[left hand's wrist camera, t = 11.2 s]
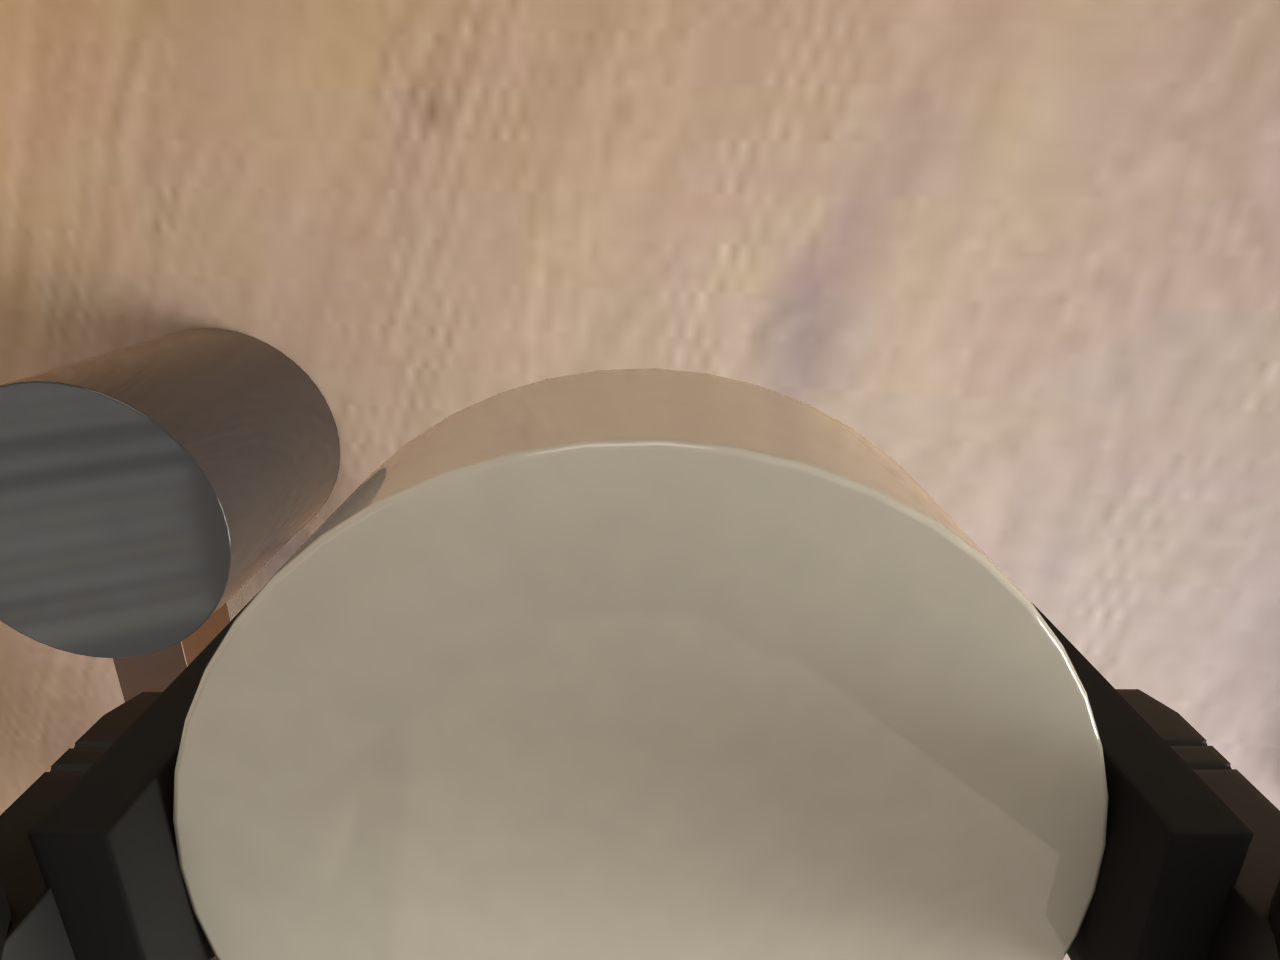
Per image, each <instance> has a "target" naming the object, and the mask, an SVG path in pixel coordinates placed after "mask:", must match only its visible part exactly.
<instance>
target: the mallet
mask: <svg viewBox="0 0 1280 960" xmlns="http://www.w3.org/2000/svg"><path fill="white" fill-rule="evenodd" d="M339 460H340V448H339V438H338V433H337V428H336V424H335V421H334V419H333V416H332V413H331V411H330V409H329V407H328V405H327V402H326V400H325V398H324V397H323V395H322V394H321V392H320V391H319V389H318V388H317V386H316V385H315V384H314V382H313V381H312V380H311V379H310V378H309V376H308V375H307V374H306V373H305V372H304V371H303V370H302V369H301V368H300V367H299V366H298V365H297V364H296V363H295V362H293V361H292V360H291V359H290V358H288V357H287V356H286V355H284V354H283V353H282V352H280V351H278V350H277V349H275V348H273V347H272V346H270V345H268V344H266V343H264V342H262V341H260V340H258V339H255V338H253V337H250V336H247V335H244V334H241V333H238V332H233V331H228V330H223V329H208V328H205V329H191V330H186V331H182V332H177V333H174V334H170V335H167V336H164V337H160V338H157V339H154V340H150V341H147V342H144V343H140V344H137V345H134V346H130V347H127V348H124V349H120V350H117V351H113V352H110V353H107V354H103V355H100V356H97V357H93V358H90V359H87V360H83V361H80V362H77V363H73V364H70V365H67V366H63V367H60V368H57V369H53V370H50V371H47V372H43V373H40V374H37V375H33V376H30V377H26V378H23V379H20V380H16V381H13V382H10V383H6V384H3V385H0V621H2V622H3V623H5V624H6V625H8V626H10V627H11V628H13V629H15V630H16V631H18V632H20V633H21V634H23V635H26V636H28V637H30V638H32V639H34V640H36V641H38V642H40V643H43V644H46V645H48V646H51V647H54V648H56V649H60V650H63V651H67V652H71V653H74V654H79V655H85V656H92V657H103V658H113V660H114V664H115V667H116V671H117V675H118V678H119V682H120V685H121V689H122V693H123V696H124V700H125V702H127V701H128V700H130V699H132V698H133V697H135V696H137V695H138V694H140V693H142V692H163V691H164V690H165V689H166V688H167V687H168V686H169V685H170V684H171V683H172V682H173V681H174V680H175V679H176V678H177V677H178V676H179V675H180V674H181V673H182V672H183V670H184V669H185V668H186V667H187V666H188V665H189V664H190V663H191V662H192V661H193V660H194V659H195V658H196V657H197V656H198V655H199V654H200V653H201V652H202V651H203V650H204V649H205V648H206V647H207V645H208V644H209V643H210V642H211V641H212V640H213V639H214V638H215V637H216V636H217V635H218V634H219V633H220V632H221V631H222V630H223V629H224V628H225V627H226V626H227V625H228V624H229V623H230V619H229V614H228V609H227V605H226V602H227V601H228V600H229V599H230V598H231V597H232V596H233V595H234V594H235V593H236V592H237V591H238V590H239V589H240V588H241V587H242V586H243V585H244V584H245V583H246V582H247V581H248V580H249V579H250V578H251V577H252V576H253V575H254V574H255V573H256V572H257V571H258V570H259V569H260V568H261V567H262V566H263V565H264V564H265V563H266V562H268V561H269V560H270V559H271V558H272V557H273V556H274V555H275V554H276V553H277V552H278V551H279V550H280V549H281V548H282V547H283V546H284V545H285V544H286V543H287V542H288V541H289V540H290V539H291V538H292V537H293V536H294V535H295V534H296V533H297V532H298V531H299V530H300V529H301V528H302V527H303V526H304V525H305V524H306V523H307V522H308V521H309V520H310V519H311V518H312V517H313V516H314V515H315V514H316V513H317V512H318V511H319V510H320V509H321V507H322V506H323V505H324V504H325V502H326V501H327V499H328V497H329V495H330V494H331V492H332V490H333V487H334V484H335V482H336V479H337V474H338V469H339Z"/></svg>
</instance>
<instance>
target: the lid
mask: <svg viewBox="0 0 1280 960" xmlns="http://www.w3.org/2000/svg"><path fill="white" fill-rule="evenodd" d="M1107 810H1108V791H1107V782H1106V773H1105V765H1104V756H1103V748H1102V743H1101V739H1100V736H1099V733H1098V729H1097V726H1096V722H1095V719H1094V716H1093V712H1092V709H1091V706H1090V702H1089V699H1088V696H1087V693H1086V691H1085V689H1084V687H1083V685H1082V683H1081V681H1080V679H1079V677H1078V675H1077V673H1076V671H1075V669H1074V667H1073V665H1072V663H1071V661H1070V659H1069V657H1068V655H1067V653H1066V651H1065V649H1064V647H1063V645H1062V644H1061V642H1060V641H1059V639H1058V638H1057V637H1056V635H1055V634H1054V633H1053V631H1052V630H1051V628H1050V627H1049V626H1048V624H1047V623H1046V622H1045V620H1044V619H1043V617H1042V616H1041V615H1040V613H1039V612H1038V611H1037V609H1036V608H1035V606H1034V605H1033V604H1032V602H1031V601H1030V600H1029V598H1028V597H1027V596H1026V595H1025V594H1024V593H1023V592H1022V591H1021V590H1020V589H1019V588H1018V587H1017V586H1016V585H1015V584H1014V583H1013V582H1012V581H1011V580H1010V579H1009V578H1008V577H1007V575H1006V574H1005V573H1004V572H1003V571H1002V570H1001V569H1000V568H999V567H998V566H997V565H996V564H995V563H994V562H993V561H992V560H991V559H990V558H989V557H988V556H987V555H986V554H985V553H984V552H983V550H982V549H981V548H980V547H979V546H978V545H977V544H976V543H975V542H974V541H973V540H972V539H971V538H970V537H969V536H968V535H967V534H966V533H965V532H964V531H963V530H962V529H961V528H960V526H959V525H958V524H957V523H956V522H955V521H954V520H953V519H952V518H951V517H950V516H949V515H948V514H947V513H946V512H945V511H944V510H943V509H942V508H941V507H940V506H939V505H938V504H937V503H936V501H935V500H934V499H933V498H932V497H931V496H930V495H929V494H928V493H927V492H926V491H925V490H924V489H923V488H922V487H921V486H920V485H919V484H918V483H917V482H916V481H915V480H914V479H913V478H912V477H911V476H910V475H909V474H908V473H907V472H906V471H905V470H904V469H903V468H902V467H901V466H900V465H899V464H898V463H897V462H896V461H895V460H894V459H893V458H892V457H890V456H889V455H888V454H886V453H885V452H884V451H882V450H881V449H880V448H878V447H877V446H876V445H874V444H873V443H872V442H870V441H869V440H868V439H866V438H865V437H864V436H862V435H861V434H859V433H858V432H857V431H855V430H854V429H853V428H851V427H849V426H847V425H845V424H844V423H842V422H840V421H838V420H836V419H834V418H833V417H831V416H829V415H827V414H825V413H823V412H821V411H820V410H818V409H816V408H814V407H812V406H810V405H809V404H806V403H803V402H801V401H798V400H795V399H793V398H790V397H788V396H785V395H782V394H780V393H777V392H774V391H772V390H769V389H766V388H764V387H761V386H758V385H753V384H749V383H745V382H741V381H736V380H732V379H728V378H723V377H719V376H715V375H711V374H704V373H694V372H684V371H674V370H663V369H626V370H599V371H593V372H587V373H581V374H575V375H568V376H562V377H556V378H550V379H546V380H542V381H539V382H536V383H532V384H529V385H526V386H522V387H519V388H516V389H512V390H509V391H506V392H502V393H499V394H496V395H494V396H492V397H490V398H487V399H485V400H483V401H481V402H479V403H476V404H474V405H472V406H470V407H468V408H465V409H463V410H461V411H459V412H457V413H454V414H452V415H450V416H449V417H447V418H445V419H444V420H442V421H441V422H439V423H438V424H436V425H434V426H433V427H431V428H430V429H428V430H427V431H425V432H423V433H422V434H420V435H419V436H417V437H415V438H414V439H412V440H411V441H409V442H408V443H407V444H406V445H404V446H403V447H402V448H401V449H400V450H399V451H397V452H396V453H395V454H394V455H393V456H392V457H390V458H389V459H388V460H387V461H386V462H384V463H383V464H382V465H381V466H380V467H379V468H377V469H376V470H375V471H374V472H373V473H372V474H371V475H370V476H369V477H368V478H367V479H366V480H365V481H364V482H363V483H362V484H361V485H360V486H359V487H358V488H357V489H356V490H355V491H354V492H353V493H352V495H351V496H350V497H349V498H348V499H347V500H346V501H345V502H344V503H343V504H342V505H341V506H340V507H339V508H338V509H337V510H336V511H335V512H334V513H333V514H332V515H331V516H330V517H329V518H328V519H327V520H326V522H325V523H324V524H323V525H322V526H321V527H320V528H319V529H318V530H317V531H316V532H315V533H314V534H313V535H312V536H311V537H310V538H309V539H308V540H307V541H306V542H305V543H304V544H303V545H302V546H301V547H300V548H299V550H298V551H297V552H296V553H295V554H294V555H293V556H292V557H291V558H290V559H289V560H288V561H287V562H286V563H285V564H284V565H283V566H282V567H281V568H280V569H279V570H278V571H277V572H276V573H275V574H274V575H273V577H272V578H271V579H270V580H269V581H268V582H267V584H266V585H265V586H264V587H263V588H262V589H261V590H260V592H259V593H258V594H257V595H256V596H255V597H254V599H253V600H252V601H251V602H250V603H249V604H248V605H247V607H246V608H245V609H244V610H243V611H242V612H241V614H240V615H239V616H238V617H237V618H236V619H235V621H234V622H233V624H232V625H231V627H230V629H229V630H228V632H227V634H226V635H225V637H224V638H223V640H222V642H221V643H220V645H219V647H218V648H217V650H216V652H215V653H214V655H213V656H212V658H211V660H210V661H209V663H208V665H207V666H206V668H205V670H204V673H203V675H202V678H201V680H200V683H199V685H198V688H197V690H196V693H195V695H194V698H193V700H192V703H191V705H190V708H189V710H188V713H187V715H186V718H185V723H184V728H183V733H182V738H181V742H180V747H179V752H178V757H177V762H176V766H175V775H174V807H173V823H174V830H175V837H176V844H177V851H178V858H179V866H180V870H181V873H182V876H183V879H184V882H185V886H186V889H187V892H188V895H189V898H190V902H191V905H192V908H193V911H194V913H195V915H196V918H197V920H198V922H199V924H200V926H201V928H202V930H203V932H204V934H205V936H206V938H207V940H208V942H209V944H210V946H211V948H212V950H213V952H214V954H215V956H216V957H217V959H218V960H1063V958H1064V957H1065V955H1066V953H1067V951H1068V950H1069V948H1070V946H1071V945H1072V943H1073V941H1074V940H1075V938H1076V936H1077V934H1078V932H1079V929H1080V927H1081V924H1082V922H1083V919H1084V917H1085V914H1086V912H1087V910H1088V907H1089V905H1090V902H1091V900H1092V897H1093V895H1094V892H1095V889H1096V884H1097V880H1098V876H1099V871H1100V867H1101V862H1102V858H1103V854H1104V849H1105V844H1106V827H1107Z"/></svg>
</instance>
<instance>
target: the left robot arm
mask: <svg viewBox="0 0 1280 960" xmlns="http://www.w3.org/2000/svg"><path fill="white" fill-rule="evenodd" d="M259 592H260V591H259ZM259 592H258V593H259ZM258 593H257V594H258ZM257 594H256V595H257ZM253 599H254V598H253ZM253 599H252V600H253ZM252 600H251V601H252ZM251 601H250V602H251ZM250 602H249V603H250ZM249 603H248V604H249ZM248 604H247V605H248ZM1032 604H1033V603H1032ZM247 605H246V606H245V607H244V608H243V609H242V610H241V611H240V612H239V613H238V614H237V615H236V616H235V617H234V618H233V619H232V621H231V622H230V623H229V624H228V625H227V626H226V627H225V628H224V629H223V630H222V631H221V632H220V633H219V634H218V635H217V636H216V637H215V638H214V639H213V640H212V641H211V642H210V643H209V644H208V645H207V647H206V648H205V649H204V650H203V651H202V652H201V653H200V654H199V655H198V656H197V657H196V658H195V659H194V660H193V661H192V662H191V663H190V664H189V665H188V666H187V667H186V668H185V669H184V670H183V672H182V673H181V674H180V675H179V676H178V677H177V678H176V679H175V680H174V681H173V682H172V683H171V684H170V685H169V686H168V687H167V688H166V689H165V690H164V691H163V692H142V693H140V694H138V695H137V696H135V697H133V698H132V699H130V700H128V701H127V702H125V703H123V704H122V705H120V706H118V707H117V708H115V709H113V710H112V711H110V712H108V713H107V714H105V715H104V716H103V717H101V718H100V719H99V720H98V721H97V722H96V723H95V724H94V725H93V726H92V727H91V728H90V729H89V730H88V731H87V732H86V733H85V734H84V735H83V736H82V737H81V738H80V739H79V740H78V741H77V742H76V743H75V748H74V749H68V750H67V751H66V752H65V753H64V754H63V755H62V756H61V757H60V758H59V759H58V760H57V761H56V762H55V763H54V764H53V765H52V766H51V771H50V772H45V773H44V774H43V775H42V776H41V777H40V778H39V779H38V780H37V781H35V782H34V783H33V784H32V785H31V786H30V787H29V788H28V789H27V790H26V791H25V792H24V793H23V794H22V795H21V796H20V797H19V798H18V799H17V800H16V801H15V802H14V803H13V804H12V805H11V806H10V807H9V808H8V809H7V810H6V811H5V812H4V813H2V814H1V815H0V960H210V958H211V956H212V955H213V953H214V952H213V950H212V948H211V946H210V944H209V942H208V940H207V938H206V936H205V934H204V932H203V930H202V928H201V926H200V924H199V922H198V920H197V918H196V915H195V913H194V911H193V908H192V905H191V902H190V898H189V895H188V892H187V889H186V886H185V882H184V879H183V876H182V873H181V870H180V866H179V858H178V851H177V844H176V837H175V830H174V823H173V807H174V775H175V766H176V762H177V757H178V752H179V747H180V742H181V738H182V733H183V728H184V723H185V718H186V715H187V713H188V710H189V708H190V705H191V703H192V700H193V698H194V695H195V693H196V690H197V688H198V685H199V683H200V680H201V678H202V675H203V673H204V670H205V668H206V666H207V665H208V663H209V661H210V660H211V658H212V656H213V655H214V653H215V652H216V650H217V648H218V647H219V645H220V643H221V642H222V640H223V638H224V637H225V635H226V634H227V632H228V630H229V629H230V627H231V625H232V624H233V622H234V621H235V619H236V618H237V617H238V616H239V615H240V614H241V612H242V611H243V610H244V609H245V608H246V607H247ZM1033 605H1034V604H1033ZM1034 606H1035V605H1034ZM1035 608H1036V609H1037V611H1038V612H1039V613H1040V615H1041V616H1042V617H1043V619H1044V620H1045V622H1046V623H1047V624H1048V626H1049V627H1050V628H1051V630H1052V631H1053V633H1054V634H1055V635H1056V637H1057V638H1058V639H1059V641H1060V642H1061V644H1062V645H1063V647H1064V649H1065V651H1066V653H1067V655H1068V657H1069V659H1070V661H1071V663H1072V665H1073V667H1074V669H1075V671H1076V673H1077V675H1078V677H1079V679H1080V681H1081V683H1082V685H1083V687H1084V689H1085V691H1086V693H1087V696H1088V699H1089V702H1090V706H1091V709H1092V712H1093V716H1094V719H1095V722H1096V726H1097V729H1098V733H1099V736H1100V739H1101V743H1102V748H1103V756H1104V765H1105V773H1106V782H1107V791H1108V810H1107V827H1106V844H1105V849H1104V854H1103V858H1102V862H1101V867H1100V871H1099V876H1098V880H1097V884H1096V889H1095V892H1094V895H1093V897H1092V900H1091V902H1090V905H1089V907H1088V910H1087V912H1086V914H1085V917H1084V919H1083V922H1082V924H1081V927H1080V929H1079V932H1078V934H1077V936H1076V938H1075V940H1074V941H1073V943H1072V945H1071V946H1070V948H1069V950H1068V951H1067V954H1068V956H1069V957H1070V959H1071V960H1280V811H1279V810H1278V809H1277V808H1276V807H1275V806H1274V805H1273V804H1272V803H1271V802H1270V801H1269V800H1268V799H1267V798H1266V797H1265V796H1264V795H1262V794H1261V793H1260V792H1259V791H1258V790H1257V789H1256V788H1255V787H1254V786H1253V785H1252V784H1251V783H1250V782H1249V781H1248V780H1247V779H1246V778H1245V777H1244V776H1243V775H1242V774H1241V773H1240V772H1239V771H1238V770H1237V769H1231V767H1230V763H1229V762H1228V761H1227V760H1226V759H1225V758H1224V757H1223V756H1222V755H1221V754H1220V753H1219V752H1218V751H1217V750H1216V749H1215V748H1214V747H1213V746H1207V743H1206V740H1205V739H1204V738H1203V737H1202V736H1201V735H1200V734H1199V733H1198V732H1197V731H1196V730H1195V729H1194V728H1193V727H1192V726H1191V725H1190V724H1189V723H1188V722H1187V721H1186V720H1185V719H1184V718H1183V717H1182V716H1180V715H1179V714H1178V713H1177V712H1175V711H1174V710H1172V709H1170V708H1169V707H1167V706H1165V705H1164V704H1162V703H1160V702H1159V701H1157V700H1155V699H1154V698H1152V697H1150V696H1149V695H1147V694H1145V693H1144V692H1142V691H1140V690H1139V689H1114V688H1113V687H1112V685H1111V684H1110V683H1109V682H1108V681H1107V680H1106V679H1105V678H1104V677H1103V676H1102V675H1101V674H1100V673H1099V672H1098V671H1097V670H1096V669H1095V668H1094V667H1093V666H1092V665H1091V664H1090V663H1089V662H1088V660H1087V659H1086V658H1085V657H1084V656H1083V655H1082V654H1081V653H1080V652H1079V651H1078V650H1077V649H1076V648H1075V647H1074V646H1073V645H1072V644H1071V643H1070V642H1069V641H1068V640H1067V639H1066V638H1065V637H1064V636H1063V634H1062V633H1061V632H1060V631H1059V630H1058V629H1057V628H1056V627H1055V626H1054V625H1053V624H1052V623H1051V622H1050V621H1049V620H1048V619H1047V618H1046V617H1045V616H1044V615H1043V614H1042V613H1041V612H1040V611H1039V609H1038V608H1037V607H1036V606H1035Z"/></svg>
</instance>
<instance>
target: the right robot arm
mask: <svg viewBox="0 0 1280 960" xmlns="http://www.w3.org/2000/svg"><path fill="white" fill-rule="evenodd" d="M210 960H218V959H217V957H216V956H215V954H214V953H213V955H212V956H211V958H210Z"/></svg>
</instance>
